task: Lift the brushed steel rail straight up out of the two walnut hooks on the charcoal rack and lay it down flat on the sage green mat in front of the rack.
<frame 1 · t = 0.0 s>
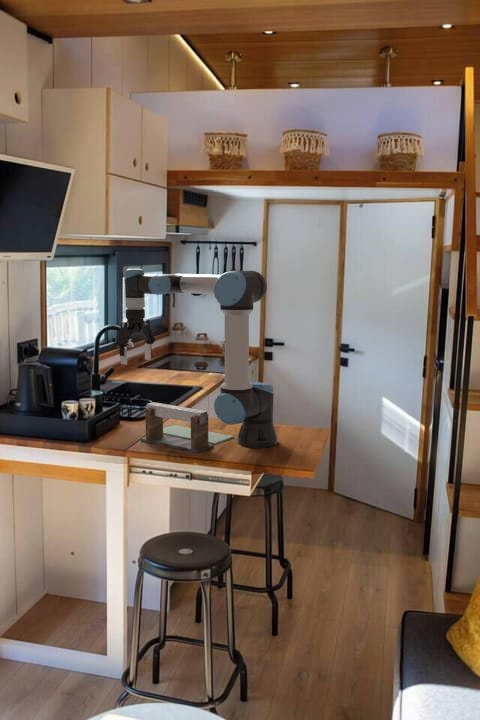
hand: (136, 362, 275), 28 cm above the counter, tool pointing down, fingers open, 13 cm apart
hook rack: (176, 444, 259), on the counter
sage mat: (193, 435, 272), on the counter
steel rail: (176, 418, 258), point 10 cm above the counter, touching hook rack
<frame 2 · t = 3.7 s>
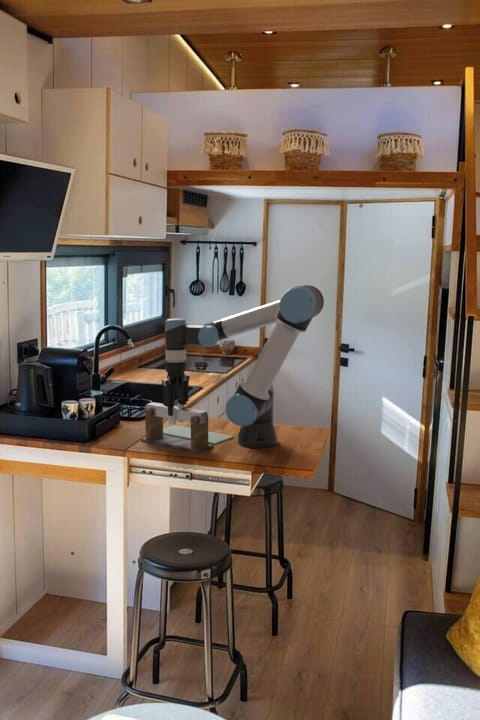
hand: (176, 422, 258), 8 cm above the counter, tool pointing down, fingers closed on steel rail, 4 cm apart
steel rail: (176, 418, 258), point 10 cm above the counter, touching gripper, hook rack
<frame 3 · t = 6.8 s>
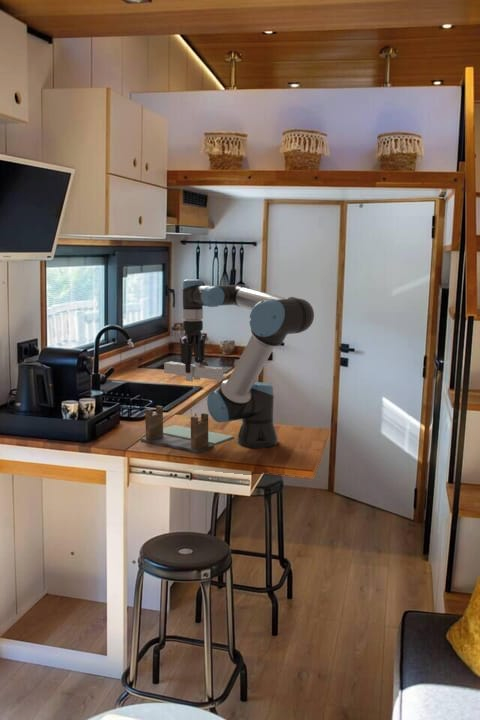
hand: (193, 380, 269), 22 cm above the counter, tool pointing down, fingers closed on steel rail, 4 cm apart
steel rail: (193, 375, 269), point 24 cm above the counter, touching gripper
when the fingers open (2 cm above the counter, at t = 9.8 s): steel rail drops 3 cm, resting on sage mat.
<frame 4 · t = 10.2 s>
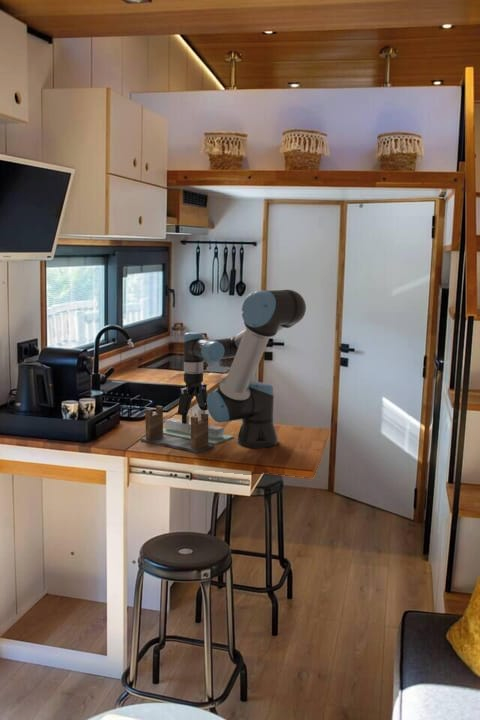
hand: (193, 428, 272), 3 cm above the counter, tool pointing down, fingers open, 9 cm apart
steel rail: (193, 433, 272), point 1 cm above the counter, touching sage mat
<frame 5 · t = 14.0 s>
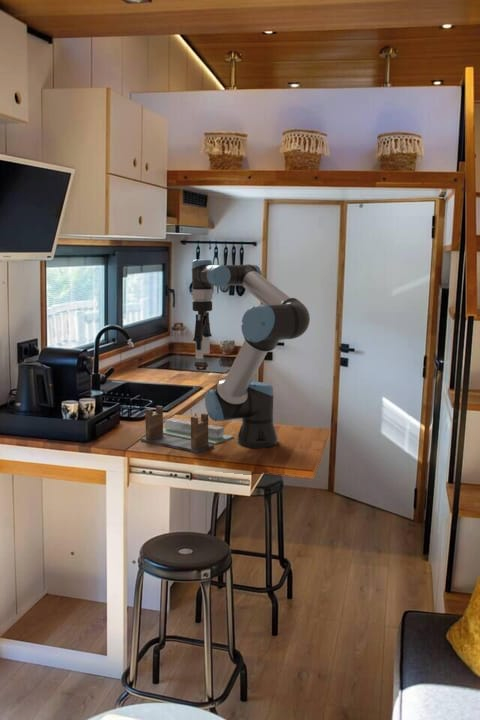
hand: (202, 356, 267), 32 cm above the counter, tool pointing down, fingers open, 13 cm apart
nothing on the counter moved.
at the end: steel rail inside the target area (0.0 cm from its centre), point 0.6 cm above the counter; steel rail touching sage mat; the gripper is holding nothing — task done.
